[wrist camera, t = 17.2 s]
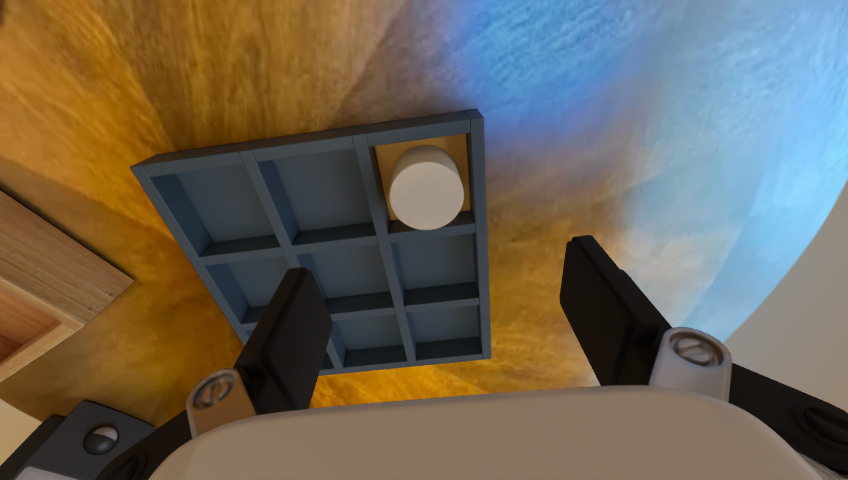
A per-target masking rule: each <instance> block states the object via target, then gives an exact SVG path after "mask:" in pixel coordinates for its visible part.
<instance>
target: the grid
mask: <svg viewBox="0 0 848 480" xmlns="http://www.w3.org/2000/svg"><path fill="white" fill-rule="evenodd" d="M419 145H432V146H436V147H439V148H441V149H443V150H444V151H446V152H447V153H448V154H449V155H450V156H451V157H452V158H453V160H454V162H455V164H456V167H457V170H458V173H459V176H460V180H461V183H462V186H463V191H464V199H463V204H462V207H461V209H460V211H459V213H458V214H457V216H456V217H455V218H454V219H453V220H452V221H451V222H449V223H448V224H446V225H445V226H442V227H440V228H437V229H432V230H420V229H415V228H412V227H410V226H408V225H406V224H404V223H403V222H402V221H401V220H400V219H398V217H397V216H396V215H395V213H394V212H393V210H392V208H391V205H390V200H389V192H390V186H391V181H392V175H393V169H394V166H395V164H396V162H397V160H398V158H399V157H400V156H401V155H402V154H403V153H404V152H405V151H407V150H408V149H410V148H412V147H415V146H419ZM130 169H131V170H132V172H133V173H134V175H135V177H136V178H137V180H138V181H139V183H140V184H141V186H142V187H143V189H144V191H145V192H146V194H147V195H148V197H149V198H150V200H151V201H152V203H153V205H154V206H155V208H156V209H157V211H158V212H159V214H160V215H161V217H162V219H163V220H164V222H165V223H166V225H167V226H168V228H169V229H170V231H171V233H172V234H173V236H174V237H175V239H176V240H177V242H178V243H179V245H180V247H181V248H182V250H183V251H184V253H185V254H186V256H187V257H188V259H189V261H190V262H191V264H192V265H193V267H194V268H195V270H196V271H197V273H198V275H199V276H200V278H201V279H202V281H203V282H204V284H205V285H206V287H207V289H208V290H209V292H210V293H211V295H212V296H213V298H214V299H215V301H216V302H217V304H218V306H219V307H220V309H221V310H222V312H223V313H224V315H225V316H226V318H227V320H228V321H229V323H230V324H231V326H232V327H233V329H234V330H235V332H236V334H237V335H238V337H239V338H240V340H241V341H242V343H243V344H244V346H245V345H246V343H247V341H248V339H249V338H250V336H251V334H252V332H253V331H254V329H255V327H256V325H257V323H258V322H259V320H260V318H261V316H262V314H263V313H264V311H265V309H266V307H267V306H268V304H269V302H270V300H271V298H272V297H273V295H274V293H275V291H276V289H277V288H278V286H279V284H280V282H281V281H282V279H283V277H284V275H285V273H286V272H287V270H288V269H290V268H297V267H306V268H307V270H311V271H312V273H313V275H314V277H315V280H316V282H317V285H318V287H319V289H320V292H321V294H322V297H323V299H324V302H325V304H326V307H327V309H328V311H329V314H330V316H331V319H332V323H333V327H332V331H331V335H330V338H329V342H328V345H327V348H326V352H325V355H324V358H323V362H322V365H321V368H320V372H319V375H318V376H321V375H331V374H342V373H352V372H362V371H372V370H382V369H392V368H402V367H413V366H423V365H433V364H443V363H453V362H463V361H473V360H482V359H491V333H490V302H489V270H488V239H487V207H486V176H485V144H484V118H483V116H482V115H481V114H480V112H479V111H478V110H477V109H472V110H465V111H458V112H451V113H444V114H437V115H430V116H423V117H416V118H409V119H402V120H395V121H388V122H381V123H374V124H367V125H360V126H353V127H346V128H339V129H332V130H325V131H318V132H311V133H304V134H297V135H290V136H283V137H276V138H269V139H262V140H255V141H248V142H241V143H234V144H227V145H220V146H213V147H206V148H199V149H192V150H185V151H178V152H171V153H164V154H157V155H154V156H152V157H150V158H148V159H146V160H143V161H141V162H139V163H137V164H135V165H132V166H130Z"/></svg>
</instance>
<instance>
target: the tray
mask: <svg viewBox="0 0 848 480" xmlns="http://www.w3.org/2000/svg"><path fill="white" fill-rule="evenodd" d="M132 282H133V280H132V279H131V278H130V277H128V276H127V275H125V274H124V273H122V272H121V271H119V270H118V269H116V268H115V267H113V266H112V265H110V264H109V263H107V262H106V261H104V260H103V259H101V258H100V257H98V256H97V255H95V254H94V253H92V252H91V251H89V250H88V249H86V248H85V247H83V246H82V245H81V244H79V243H78V242H76V241H75V240H73V239H72V238H70V237H69V236H67V235H66V234H64V233H63V232H61V231H60V230H58V229H57V228H55V227H54V226H52V225H51V224H49V223H48V222H46V221H45V220H44V219H42V218H41V217H39V216H38V215H36V214H35V213H33V212H32V211H30V210H29V209H27V208H26V207H24V206H22V205H21V204H19V203H18V202H17V201H15V200H14V199H12V198H11V197H9V196H8V195H6V194H5V193H3V192H2V191H0V382H2V381H3V380H5V379H6V378H8V377H9V376H11V375H12V374H14V373H15V372H17V371H18V370H20V369H21V368H23V367H24V366H26V365H27V364H29V363H30V362H32V361H33V360H35V359H36V358H38V357H39V356H41V355H42V354H44V353H45V352H47V351H48V350H50V349H51V348H53V347H54V346H56V345H57V344H59V343H60V342H62V341H63V340H65V339H66V338H68V337H69V336H71V335H72V334H74V333H75V332H77V331H78V330H80V329H81V328H83V327H84V326H85V325H87V324H88V323H89V322H90V321H91V320H92V319H93V318H94V317H95V316H97V315H98V314H99V313H100V312H101V311H102V310H103V309H104V308H105V307H107V306H108V305H109V304H110V303H111V302H112V301H113V300H114V299H116V298H117V297H118V296H119V295H120V294H121V293H122V292H123V291H124V290H125V289H127V288H128V287H129V286H130V285H131V284H132Z"/></svg>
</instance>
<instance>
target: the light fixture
mask: <svg viewBox="0 0 848 480" xmlns="http://www.w3.org/2000/svg"><path fill="white" fill-rule="evenodd" d="M155 429H156V428H155V427H153V426H151V425H149V424H147V423H145V422H143V421H140V420H138V419H136V418H133V417H131V416H128V415H126V414H123V413H121V412H118V411H115V410H113V409H110V408H107V407H104V406H101V405H98V404H95V403H92V402H88V401H82V402H81V403H80V404H79V405H78V406H77V407H76V408H75V409H74V410H73V411H72V412H71V413H70V414H69V416H68V417H67V418H63V417H59V416H52V417H49V418H48V419H46V420H45V421H44V422H43V423H42V424H41V425H40V426H39V427H38V428H37V429H36V430H35V431H34V432H33V433H32V434H31V435H30V436H29V437H28V438H27V439H26V440H25V441H24V442H23V443H22V444H21V445H20V446H19V447H18V448H17V449H16V450H15V452H13V453H12V454H11V456H10V457H9V458H8V459H7V460H6V461H5V462H4V463H3V464H2V465H1V466H0V480H95V479H96V477H97V476H98V475H99V473H100V472H101V471H102V470H103V469H104V468H105V467H106V466H107V465H108V464H109V463H110V462H111V461H112V460H113V459H115V458H116V457H117V456H119V455H120V454H121V453H123V452H124V451H126V450H127V449H129V448H130V447H132V446H133V445H134V444H136V443H137V442H139V441H140V440H142V439H143V438H145V437H146V436H148V435H149V434H151V433H152V432H154V431H155Z"/></svg>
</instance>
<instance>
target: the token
mask: <svg viewBox="0 0 848 480" xmlns="http://www.w3.org/2000/svg"><path fill="white" fill-rule="evenodd" d="M463 199H464V191H463V186H462V183H461V180H460V176H459V173H458V170H457V167H456V164H455V162H454V160H453V158H452V157H451V156H450V155H449V154H448V153H447V152H446V151H444V150H443V149H441V148H439V147H436V146H432V145H419V146H415V147H412V148H410V149H408V150H407V151H405V152H404V153H403V154H402V155H401V156H400V157H399V158H398V160H397V162H396V164H395V166H394V169H393V175H392V181H391V186H390V192H389V200H390V205H391V208H392V210H393V212H394V213H395V215H396V216H397V217H398V219H400V220H401V221H402V222H403V223H404V224H406V225H408V226H410V227H412V228H415V229H420V230H432V229H437V228H440V227H442V226H445V225H446V224H448V223H449V222H451V221H452V220H453V219H454V218H455V217H456V216H457V214H458V213H459V211H460V209H461V207H462V204H463Z"/></svg>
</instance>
